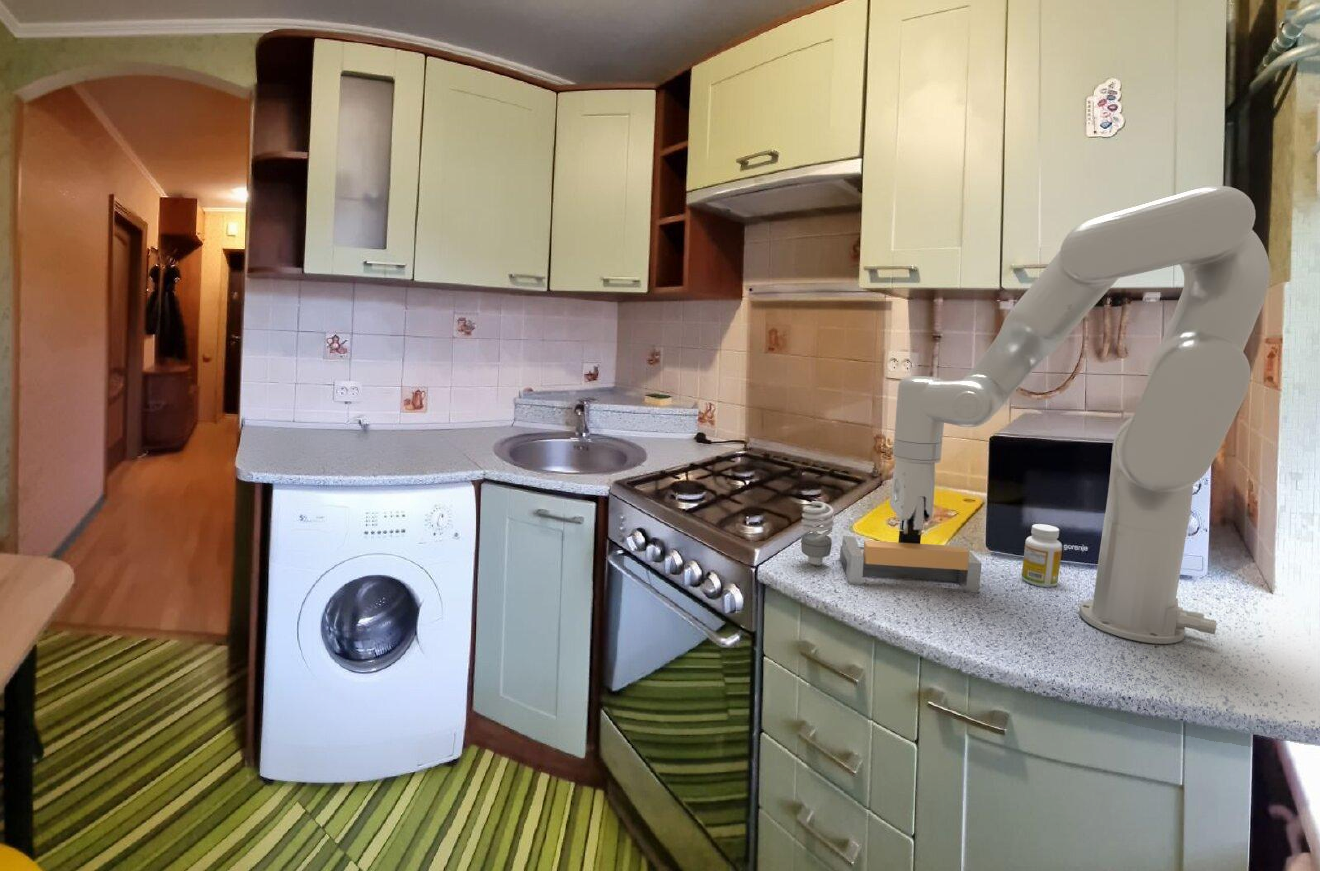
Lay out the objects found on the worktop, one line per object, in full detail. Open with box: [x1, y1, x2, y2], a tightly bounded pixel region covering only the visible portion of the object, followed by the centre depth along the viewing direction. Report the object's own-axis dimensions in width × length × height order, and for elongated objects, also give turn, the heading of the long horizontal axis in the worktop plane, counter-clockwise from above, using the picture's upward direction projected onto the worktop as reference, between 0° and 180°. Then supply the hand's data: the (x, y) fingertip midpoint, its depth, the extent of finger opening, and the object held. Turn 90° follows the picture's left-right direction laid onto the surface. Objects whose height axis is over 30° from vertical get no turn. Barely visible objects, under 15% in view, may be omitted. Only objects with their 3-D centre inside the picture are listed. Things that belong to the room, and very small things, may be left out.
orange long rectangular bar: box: [863, 540, 970, 570], centre depth 107 cm, size 16×3×3 cm, turn 82°
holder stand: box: [839, 535, 983, 593], centre depth 112 cm, size 21×12×5 cm, turn 82°
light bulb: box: [800, 500, 835, 567], centre depth 115 cm, size 6×6×12 cm
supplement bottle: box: [1021, 523, 1063, 588], centre depth 110 cm, size 5×5×10 cm
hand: (908, 554), depth 111 cm, fingers closed
